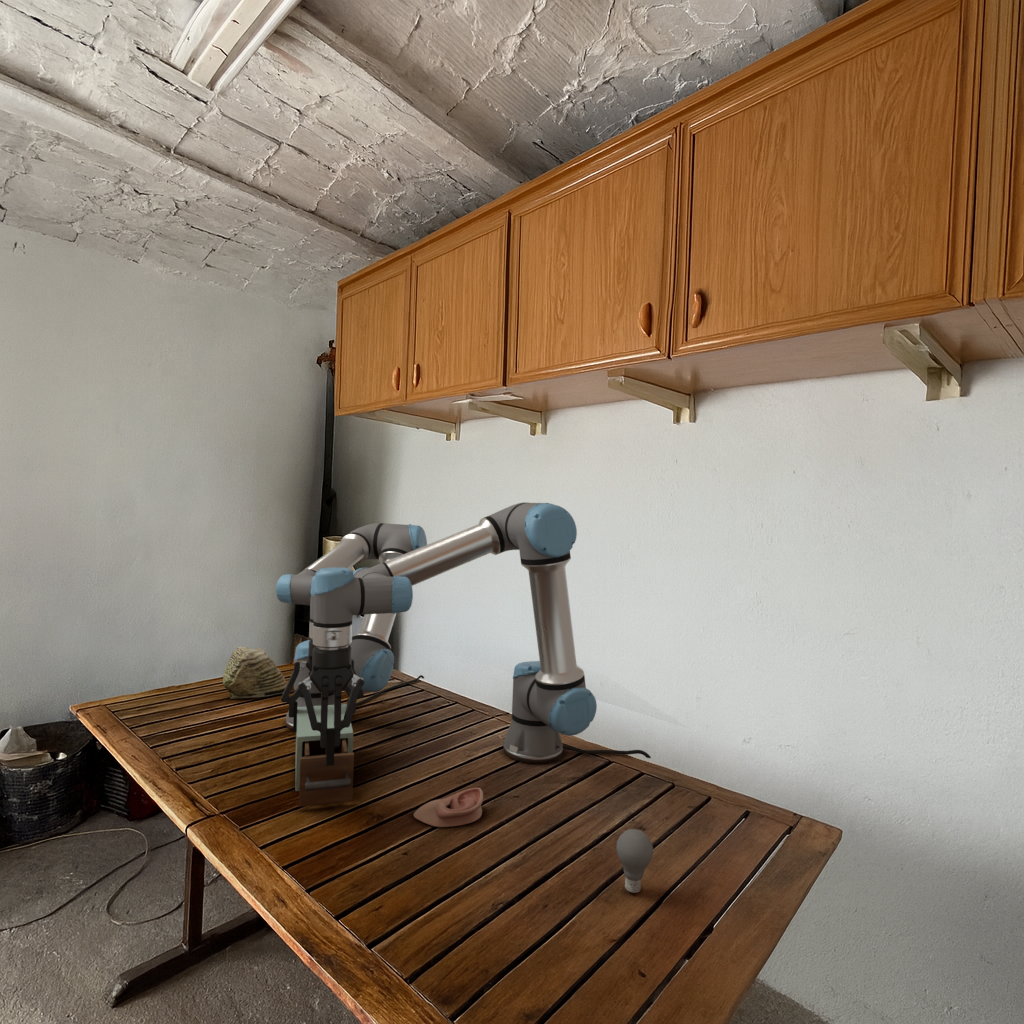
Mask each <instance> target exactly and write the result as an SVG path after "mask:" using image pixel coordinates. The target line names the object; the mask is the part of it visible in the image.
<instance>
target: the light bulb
mask: <svg viewBox="0 0 1024 1024" xmlns="http://www.w3.org/2000/svg"><path fill="white" fill-rule="evenodd" d="M615 849H616V854H617V857H618V859H619V861H620V863H621V865H622V867H623V873H624V874H623V875H624V876H625V878H624V888H625V890H627V891H628V892H630V893H634V894H635V893H639V892H640V891H641V889H642V887H641V886H642V879H643V877H644V875H645V871H646V868H647V867H648V866H649V864H650V863H651V861H652V859H653V855H654V847H653V843H652V841H651V838H649V836H648V835H647V834H646V833H645V832H643V831H642V830H641V829H636V828H629V829H627V830H625V831H623V832H622V833H621V834H620V835H619V837H618V839H617V841H616V847H615Z"/></svg>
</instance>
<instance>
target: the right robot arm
mask: <svg viewBox="0 0 1024 1024" xmlns="http://www.w3.org/2000/svg"><path fill="white" fill-rule="evenodd" d="M577 529H578V528H577V525H576V522H575V519H574V517H573V516H572V514H571V513H570V512H569V511H568V510H567V509H565V508H564V507H562V506H560V505H557V504H554V503H549V502H518V503H515V504H512V505H509V506H508V507H505V508H503V509H500V510H498V511H496V512H494V513H491V514H489V515H487V516H485V517H482V518H480V519H479V522H478V524H475V525H473V526H471V527H468V528H466V529H462V530H460V531H458V532H456V533H453V534H451V535H449V536H445V537H444V538H441V539H439V540H436V541H433V542H432V543H427V545H426V546H423V547H421V548H418V549H416V550H413V551H411V552H408V553H406V554H403V555H401V556H398V557H396V558H393V559H391V560H388V561H386V562H384V563H381V564H380V563H379V564H375V565H374V566H371V567H359V568H357V569H356V570H353V569H352V568H337V567H331V568H322V569H320V570H318V571H317V572H316V574H315V584H314V591H313V593H314V616H313V645H315V647H314V648H313V656H312V670H311V672H310V674H309V677H308V678H306V679H305V680H303V681H302V680H301V681H299V683H298V688H299V690H300V691H301V693H302V694H303V695H304V699H305V703H306V708H307V712H308V716H309V720H310V724H311V728H312V730H314V731H315V730H317V731H319V732H320V746H321V748H326V766H330V765H334V747H339V746H340V732H341V730H342V729H343V728H348V727H349V726H350V723H351V724H352V720H353V716H354V713H353V712H354V708H355V705H356V703H357V702H358V701H357V700H358V699H357V697H358V693H359V691H360V689H361V688H362V686H363V685H364V680H363V678H362V677H358V676H356V675H355V674H354V672H353V669H352V667H351V657H352V647H351V646H350V644H351V643H352V636H353V616H361V615H365V614H385V613H393V614H395V613H396V614H399V613H406V612H408V611H409V610H410V609H411V607H412V604H413V599H414V598H413V597H414V592H413V591H414V590H413V586H417V585H418V584H421V583H422V582H425V581H427V580H429V579H430V580H431V579H432V578H434V577H437V576H439V575H441V574H444V573H446V572H449V571H451V570H454V569H456V568H458V567H460V566H463V565H465V564H468V563H470V562H473V561H474V560H478V559H479V558H482V557H484V556H486V555H489V554H492V555H494V556H497V555H499V554H502V553H505V552H508V551H509V552H510V551H519V558H520V564H521V566H522V567H523V568H525V569H526V570H527V572H528V577H529V579H528V580H529V587H530V594H531V601H532V610H533V611H532V612H533V617H534V618H533V620H534V628H535V634H536V641H537V642H536V644H537V650H538V658H539V660H530V661H523V662H522V661H521V662H519V663H517V664H515V666H514V668H513V674H512V703H511V721H510V724H509V726H508V730H507V732H506V735H505V738H504V741H503V744H502V745H503V747H502V751H503V753H504V755H505V756H506V757H508V758H510V759H512V760H515V761H516V762H521V763H527V764H548V763H553V762H555V761H557V760H559V759H561V758H562V757H563V755H564V754H563V752H564V750H568V751H572V752H576V753H579V754H585V755H598V754H599V755H604V754H605V755H621V756H622V755H623V756H628V755H629V756H630V755H638V754H639V755H642V756H644V757H645V758H647V759H651V758H652V757H651V755H650V754H649V753H648V752H646V751H645V750H641V749H632V750H630V749H629V750H616V749H613V750H612V749H582V748H579V747H575V746H570V745H566V744H563V741H562V738H561V735H563V736H567V737H570V736H571V737H572V736H576V735H580V734H581V733H583V732H584V731H585V730H587V729H588V728H589V727H590V725H591V723H592V722H593V721H594V719H595V716H596V713H597V706H598V705H597V700H596V699H597V698H596V697H595V695H594V693H593V692H592V690H590V689H588V688H587V684H586V676H585V671H584V669H583V668H582V667H581V666H579V664H577V656H576V655H577V654H576V648H575V647H576V646H575V639H574V630H573V622H572V613H571V603H570V596H569V588H568V587H569V586H568V579H567V571H566V570H567V569H566V566H567V564H568V563H569V562H570V561H571V559H572V557H571V550H572V549H573V546H574V544H576V541H577V535H578V531H577ZM350 680H352V682H351V684H352V689H351V693H350V696H348V698H349V700H348V704H347V703H346V704H347V708H346V711H345V715H344V719H343V720H341V704H342V698H343V697H342V695H343V691H345V690H344V688H345V687H346V686H347V684H348V683H349V682H350ZM311 682H313V684H314V685H315V686H316V688H317V689H318V690H319V691H320V692H321V723H320V722H317V719H316V715H315V710H314V706H313V702H312V698H311V694H310V689H311ZM331 692H333V693H334V728H327V719H328V693H331ZM356 706H357V705H356Z"/></svg>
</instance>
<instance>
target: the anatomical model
mask: <svg viewBox="0 0 1024 1024" xmlns="http://www.w3.org/2000/svg"><path fill="white" fill-rule="evenodd" d="M483 802H484V792H483V790H482V788H480V787H471V788H467V789H464V790H461V791H458V792H456V793H454V794H451V795H449V796H446V797H444V798H441V799H440V798H439V799H434V800H430V801H429V802H427V803H424V804H423V805H421V806H419V808H418V809H417V810H415V811H414V813H413V817H414V818H415V819H416V820H417V821H419V822H422V823H424V824H426V825H428V826H432V827H434V828H435V827H436V828H449V827H450V828H451V827H457V826H464V825H467V824H471V823H474V822H475V821H477V820H479V819H480V818H481V817H482V814H483V809H482V805H483Z"/></svg>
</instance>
